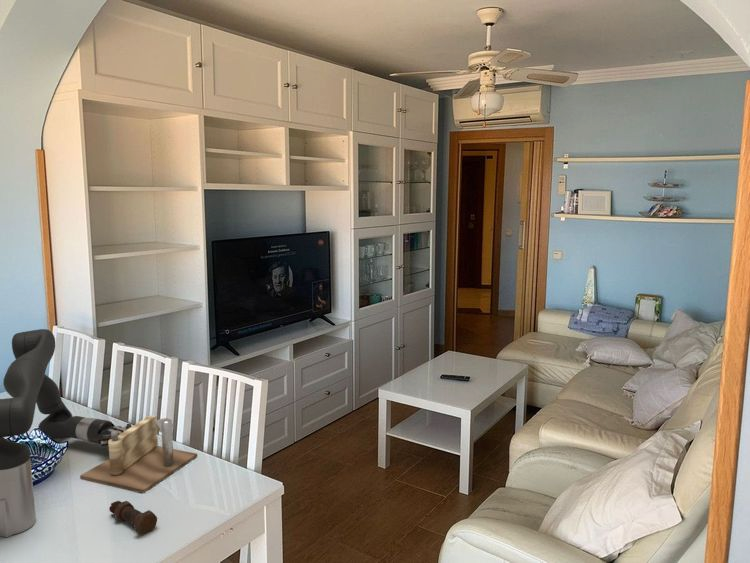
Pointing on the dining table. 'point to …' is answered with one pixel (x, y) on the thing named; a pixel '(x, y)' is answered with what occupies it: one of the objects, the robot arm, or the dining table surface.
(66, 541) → the dining table surface
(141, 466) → the hinge base
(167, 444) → the post
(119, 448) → the link
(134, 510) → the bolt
